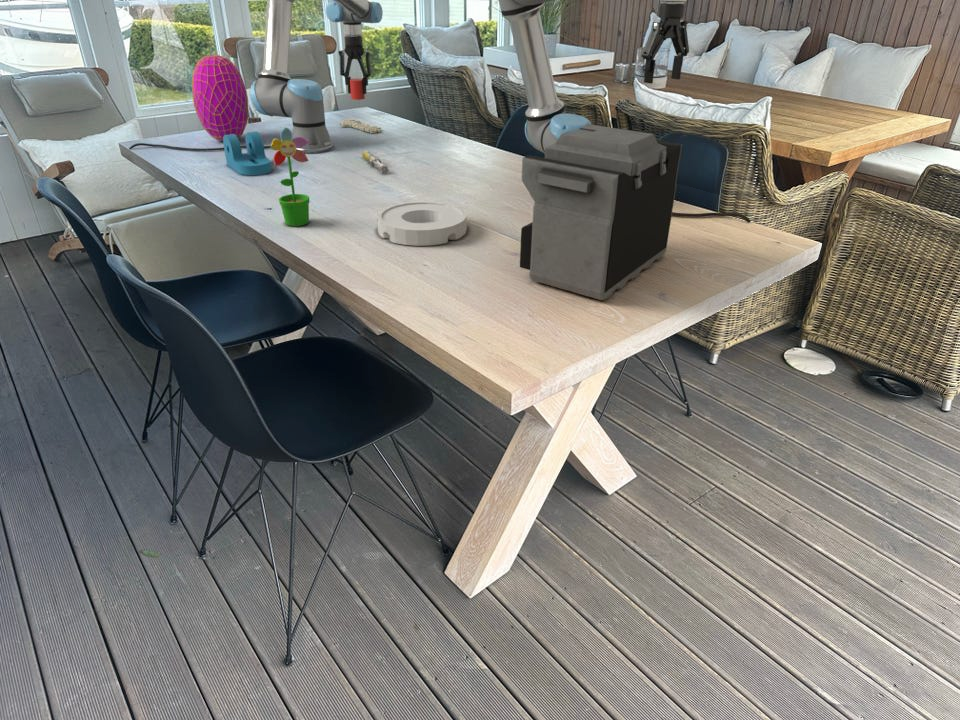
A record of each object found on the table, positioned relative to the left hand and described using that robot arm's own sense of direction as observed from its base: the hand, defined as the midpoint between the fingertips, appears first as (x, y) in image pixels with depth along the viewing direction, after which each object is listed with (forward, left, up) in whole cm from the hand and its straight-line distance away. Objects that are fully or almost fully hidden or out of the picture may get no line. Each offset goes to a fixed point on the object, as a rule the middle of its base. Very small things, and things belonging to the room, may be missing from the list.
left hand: (357, 93), depth 302 cm
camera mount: (+12, -92, -9) cm, 94 cm away
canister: (0, 0, -2) cm, 2 cm away
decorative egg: (-21, -63, -9) cm, 67 cm away
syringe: (+47, -72, -9) cm, 87 cm away
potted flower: (+57, -132, -9) cm, 144 cm away
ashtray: (+90, -124, -9) cm, 154 cm away
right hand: (+137, -50, +20) cm, 147 cm away
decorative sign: (+13, -23, -9) cm, 28 cm away
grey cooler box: (+137, -132, -9) cm, 191 cm away
